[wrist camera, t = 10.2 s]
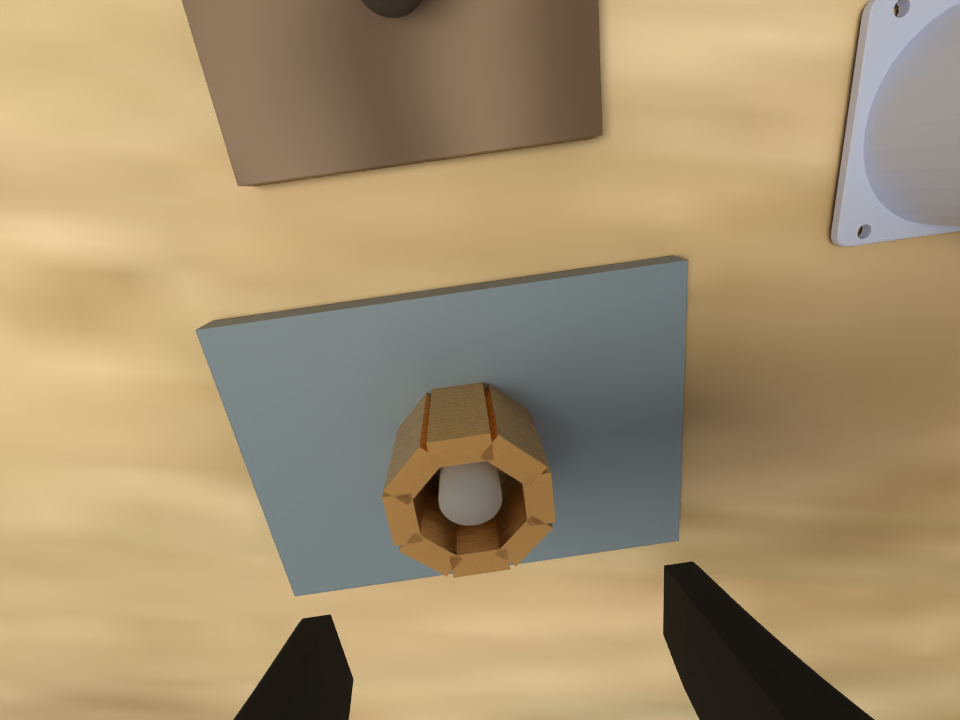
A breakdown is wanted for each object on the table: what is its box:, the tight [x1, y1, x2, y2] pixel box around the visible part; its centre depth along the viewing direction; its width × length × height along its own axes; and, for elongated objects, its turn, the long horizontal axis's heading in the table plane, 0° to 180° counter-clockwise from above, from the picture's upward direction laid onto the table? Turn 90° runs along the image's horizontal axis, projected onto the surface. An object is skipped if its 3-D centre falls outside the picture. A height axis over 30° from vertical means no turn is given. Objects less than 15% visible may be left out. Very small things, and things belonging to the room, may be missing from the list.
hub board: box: [196, 256, 688, 596], centre depth 18 cm, size 18×13×4 cm
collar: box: [382, 382, 556, 577], centre depth 17 cm, size 6×6×4 cm
